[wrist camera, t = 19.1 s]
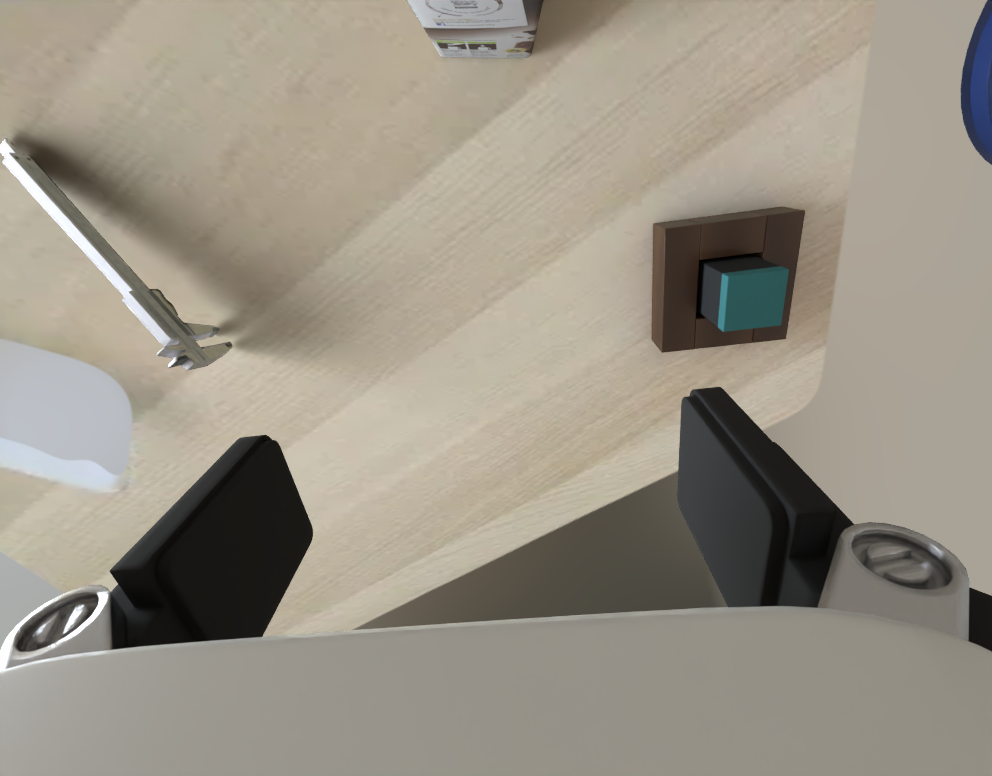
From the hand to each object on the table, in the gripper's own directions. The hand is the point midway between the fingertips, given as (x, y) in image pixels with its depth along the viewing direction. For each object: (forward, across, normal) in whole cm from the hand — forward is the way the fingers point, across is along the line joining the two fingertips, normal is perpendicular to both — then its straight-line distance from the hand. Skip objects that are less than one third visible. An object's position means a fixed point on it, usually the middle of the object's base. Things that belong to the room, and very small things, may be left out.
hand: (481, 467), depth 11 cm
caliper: (+29, +30, -4) cm, 41 cm away
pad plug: (+28, -16, +4) cm, 33 cm away
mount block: (+28, -16, +4) cm, 33 cm away
